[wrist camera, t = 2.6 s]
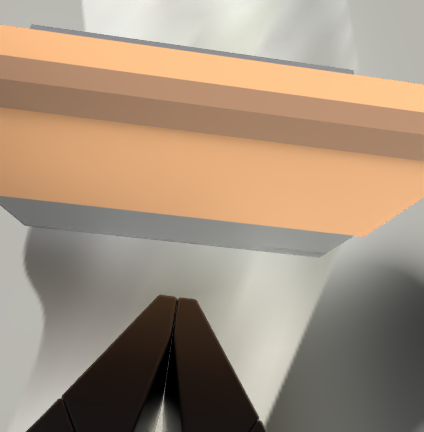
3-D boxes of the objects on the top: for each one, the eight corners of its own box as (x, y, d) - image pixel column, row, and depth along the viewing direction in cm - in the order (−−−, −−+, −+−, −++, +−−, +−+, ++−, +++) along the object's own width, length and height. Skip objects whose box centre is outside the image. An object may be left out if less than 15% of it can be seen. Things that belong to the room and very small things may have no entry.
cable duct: (319, 257, 21) (362, 230, 16) (24, 225, 20) (-22, 187, 15) (317, 125, 24) (353, 70, 19) (60, 91, 23) (31, 24, 18)
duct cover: (362, 219, 16) (364, 250, 16) (-19, 175, 15) (-30, 206, 15) (523, 98, 9) (537, 149, 8) (-199, -4, 8) (-235, 47, 7)
